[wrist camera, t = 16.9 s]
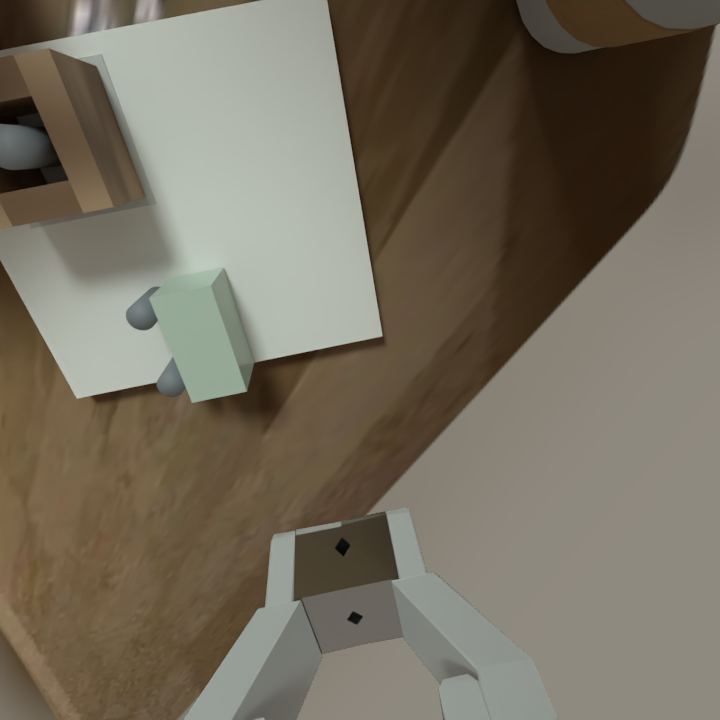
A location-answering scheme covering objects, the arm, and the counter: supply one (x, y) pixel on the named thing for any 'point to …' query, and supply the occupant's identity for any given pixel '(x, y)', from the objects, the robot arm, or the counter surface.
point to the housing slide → (204, 334)
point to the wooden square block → (64, 140)
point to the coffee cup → (612, 21)
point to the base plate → (202, 195)
